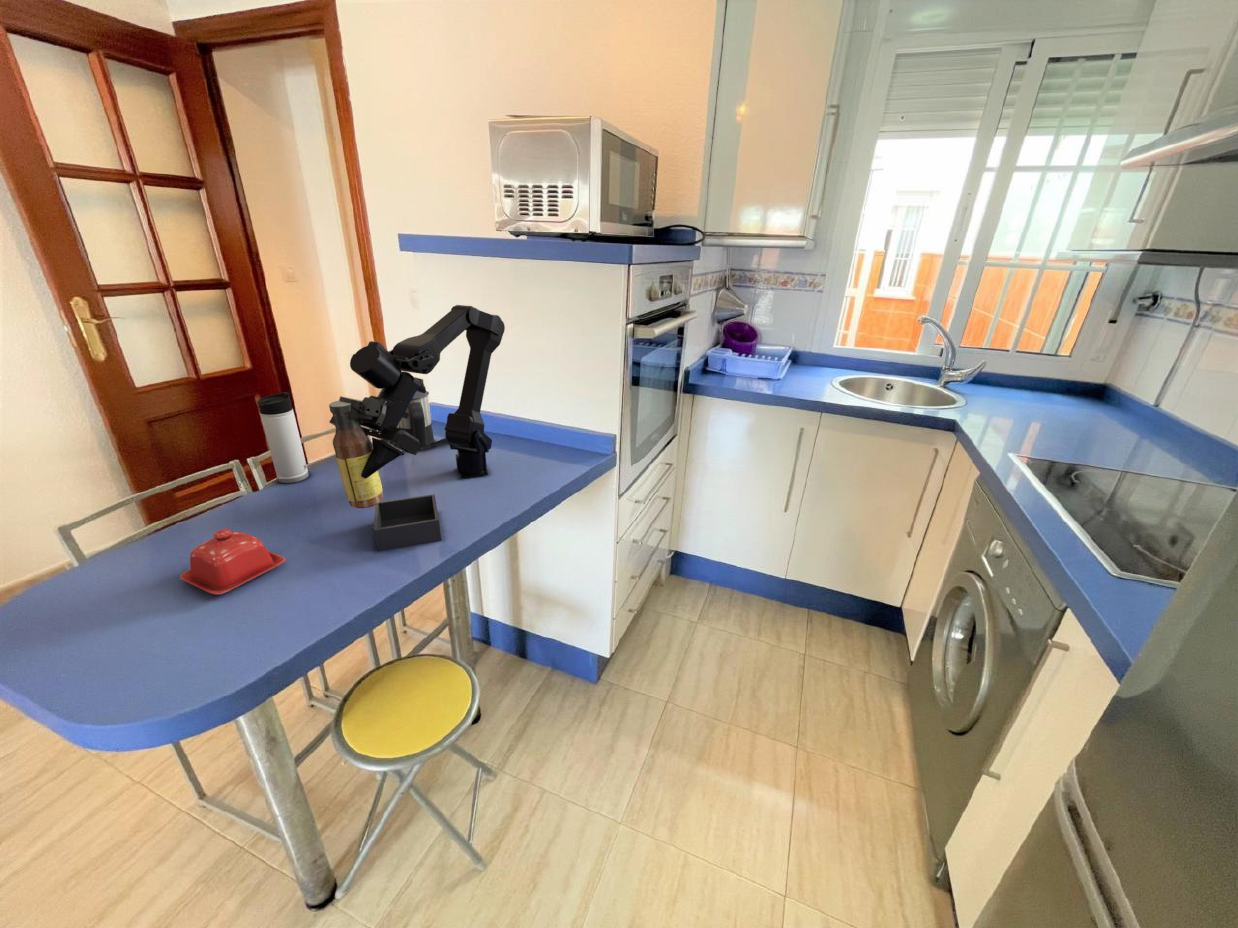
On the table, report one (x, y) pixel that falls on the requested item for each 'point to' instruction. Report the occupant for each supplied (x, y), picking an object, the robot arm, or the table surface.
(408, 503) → the bin
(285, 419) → the travel mug
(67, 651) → the table surface
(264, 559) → the butter dish
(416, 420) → the milk frother
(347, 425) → the sauce bottle
